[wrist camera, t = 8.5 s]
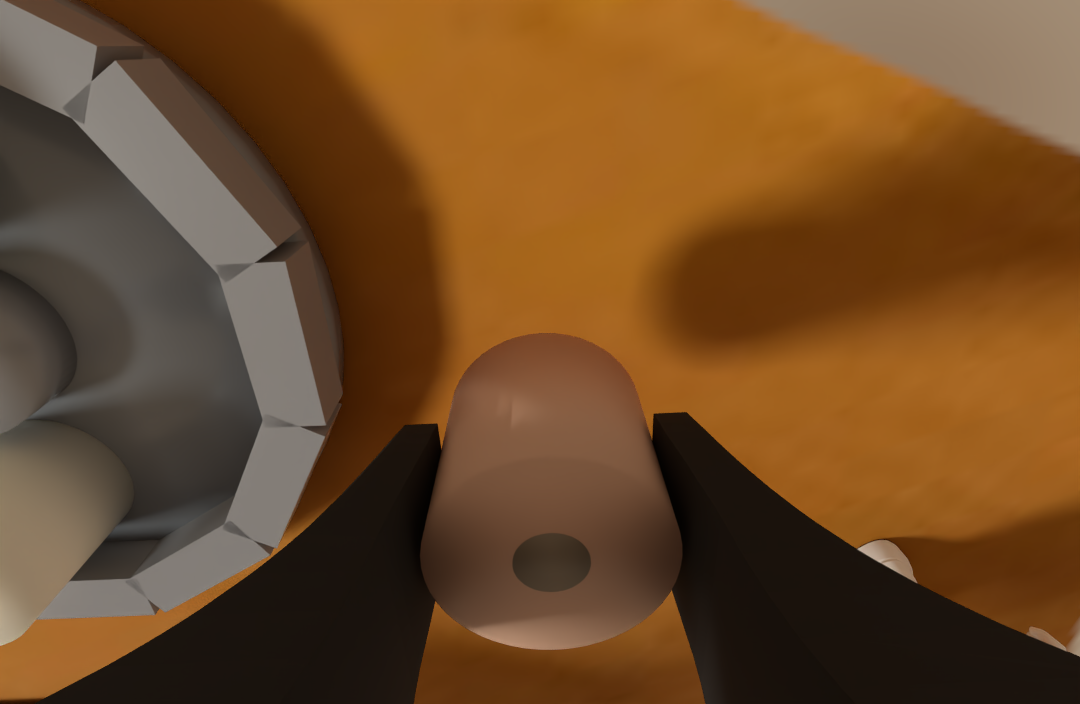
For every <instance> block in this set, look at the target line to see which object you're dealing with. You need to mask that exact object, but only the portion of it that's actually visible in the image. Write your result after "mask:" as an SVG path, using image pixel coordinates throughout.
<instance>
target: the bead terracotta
mask: <svg viewBox="0 0 1080 704" xmlns="http://www.w3.org/2000/svg"><path fill="white" fill-rule="evenodd" d="M420 561H421V569H422V573H423V577H424V580H425V583H426V585H427V587H428V589H429V591H430V593H431V594H432V596H433V597H434V599H435V600H436V602H437V603H438V604H439V605H440V607H441V608H442V609H443V610H444V611H445V612H446V613H447V614H448V615H449V616H450V617H452V618H453V619H454V620H455V621H456V622H458V623H459V624H461V625H462V626H464V627H465V628H467V629H468V630H470V631H472V632H474V633H476V634H478V635H480V636H482V637H485V638H487V639H490V640H493V641H495V642H499V643H502V644H506V645H509V646H515V647H520V648H527V649H538V650H558V649H570V648H576V647H582V646H587V645H591V644H595V643H598V642H602V641H605V640H607V639H610V638H613V637H615V636H617V635H619V634H621V633H623V632H626V631H628V630H629V629H631V628H633V627H634V626H636V625H637V624H639V623H641V622H642V621H643V620H644V619H646V618H647V617H648V616H649V615H651V614H652V613H653V612H654V611H655V610H656V609H657V608H658V607H659V606H660V605H661V604H662V603H663V601H664V600H665V599H666V597H667V596H668V595H669V593H670V592H671V590H672V588H673V586H674V584H675V582H676V580H677V577H678V574H679V571H680V568H681V562H682V540H681V534H680V530H679V527H678V523H677V520H676V517H675V514H674V510H673V507H672V504H671V501H670V497H669V494H668V491H667V488H666V485H665V481H664V478H663V475H662V472H661V468H660V465H659V462H658V459H657V455H656V452H655V449H654V446H653V442H652V439H651V436H650V433H649V429H648V426H647V423H646V420H645V416H644V413H643V410H642V407H641V403H640V400H639V397H638V394H637V391H636V388H635V385H634V383H633V381H632V379H631V377H630V376H629V374H628V372H627V371H626V370H625V369H624V367H623V366H622V365H621V364H620V363H619V362H618V361H617V360H616V359H615V358H614V357H613V356H612V355H611V354H609V353H608V352H607V351H605V350H604V349H602V348H600V347H599V346H597V345H595V344H593V343H591V342H588V341H586V340H583V339H581V338H577V337H573V336H569V335H563V334H556V333H539V334H529V335H525V336H520V337H516V338H513V339H510V340H507V341H505V342H502V343H500V344H498V345H496V346H494V347H492V348H491V349H489V350H488V351H486V352H485V353H484V354H482V355H481V356H480V357H479V358H478V359H476V360H475V361H474V362H473V363H472V364H471V365H470V367H469V368H468V369H467V370H466V371H465V373H464V375H463V376H462V378H461V379H460V381H459V383H458V385H457V388H456V390H455V393H454V397H453V400H452V405H451V409H450V414H449V418H448V423H447V427H446V432H445V437H444V441H443V446H442V450H441V455H440V459H439V464H438V468H437V473H436V477H435V482H434V487H433V491H432V496H431V500H430V505H429V509H428V514H427V518H426V523H425V527H424V532H423V537H422V541H421V550H420Z"/></svg>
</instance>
